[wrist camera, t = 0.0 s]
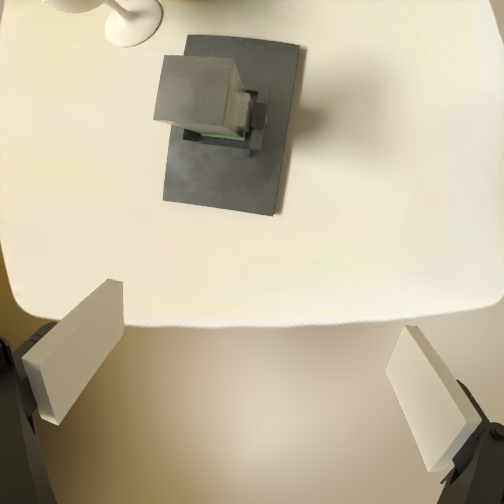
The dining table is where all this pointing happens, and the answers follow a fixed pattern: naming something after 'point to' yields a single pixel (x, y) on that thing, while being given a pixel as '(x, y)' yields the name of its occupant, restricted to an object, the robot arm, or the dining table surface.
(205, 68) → the column
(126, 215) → the dining table surface
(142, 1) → the wineglass
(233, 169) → the stand base
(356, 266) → the dining table surface
